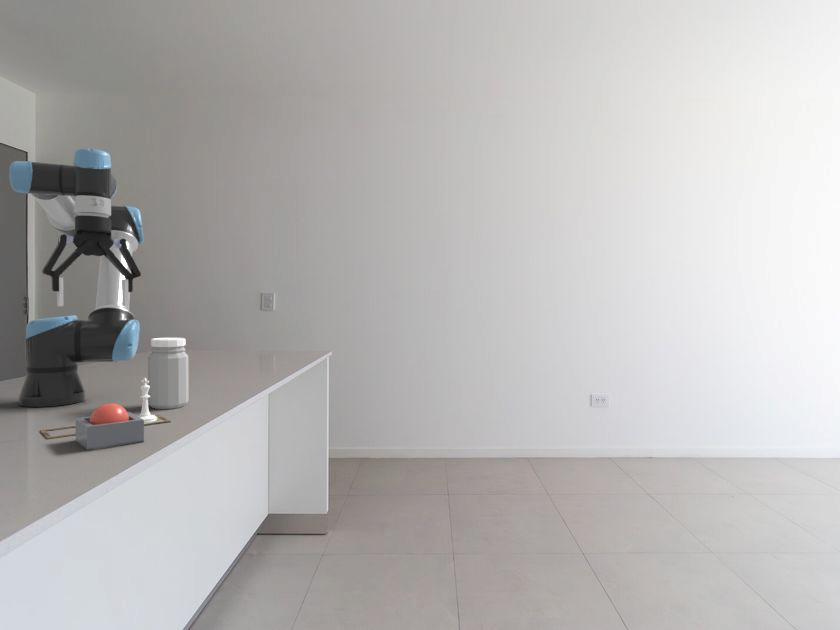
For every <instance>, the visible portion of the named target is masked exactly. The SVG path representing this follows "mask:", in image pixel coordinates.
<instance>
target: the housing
mask: <svg viewBox="0 0 840 630" xmlns="http://www.w3.org/2000/svg"><path fill="white" fill-rule="evenodd" d="M127 413H128V415H129V421H121V422H114V423H106V424H98V425H92V424H90V423H89V421H90V417H91V415H90V416H84V417H83V416H82V417H77V418H74V419H75V421H74V422H75V426H76V427H75V433H76V435H75V441H76V442H77V443H78V444H79V445H80V446H81V447H83V449H85V450H86V451H87V452H90V451H94V450H95V451H96V450H100V449H101V450H102V449H108V448H114V447H121V446H126V445H132V444H133V445H134V444H139V443H145V426H144V420H143V419H141V418H140V417H138V416H139V415H136V414H134V413H132V412H131V411H127Z"/></svg>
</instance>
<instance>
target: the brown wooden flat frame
mask: <svg viewBox="0 0 840 630" xmlns="http://www.w3.org/2000/svg"><path fill="white" fill-rule="evenodd" d="M155 416H156V419H157V420H156V421H153V422H147V423H144V427H146V426H151V425H152V424H153V425H159V424H166V423H171V420H169V419H167V418H166V417H163V416H162V415H159V414H155ZM71 428H76V425H71V426H69V425H68V426H64V427H55V428H47V429H46V428H45V429H40V430H39V432H40V433H41V434H42V435H43V436H44V438H46V439H47V440H50V439H51V440H52V439H57V438H65V437H72V436H76V432H75V433H69V434H62V435H55V436H54V435H53V436H51V435H50V434H49V433H48V432H47V431H49V432H51V431H59V430H65V429H71Z"/></svg>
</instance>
